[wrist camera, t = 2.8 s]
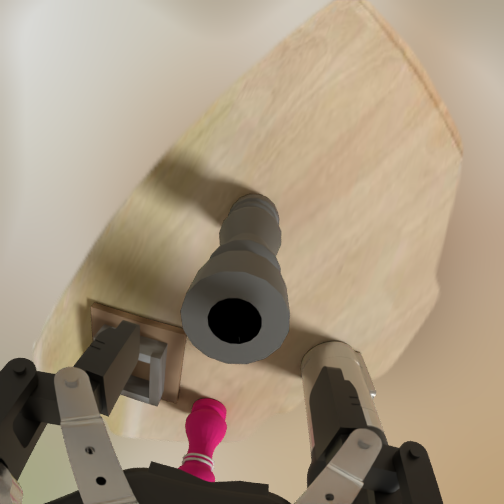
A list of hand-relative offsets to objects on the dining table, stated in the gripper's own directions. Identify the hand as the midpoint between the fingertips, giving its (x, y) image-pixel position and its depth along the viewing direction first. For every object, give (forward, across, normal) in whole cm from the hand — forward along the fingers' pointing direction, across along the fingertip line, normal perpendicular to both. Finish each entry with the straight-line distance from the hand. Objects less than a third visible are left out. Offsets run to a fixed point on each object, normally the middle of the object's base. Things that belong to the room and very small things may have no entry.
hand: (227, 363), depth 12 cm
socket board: (+28, +14, +27) cm, 41 cm away
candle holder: (+28, 0, 0) cm, 29 cm away
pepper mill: (+28, 0, +36) cm, 46 cm away
